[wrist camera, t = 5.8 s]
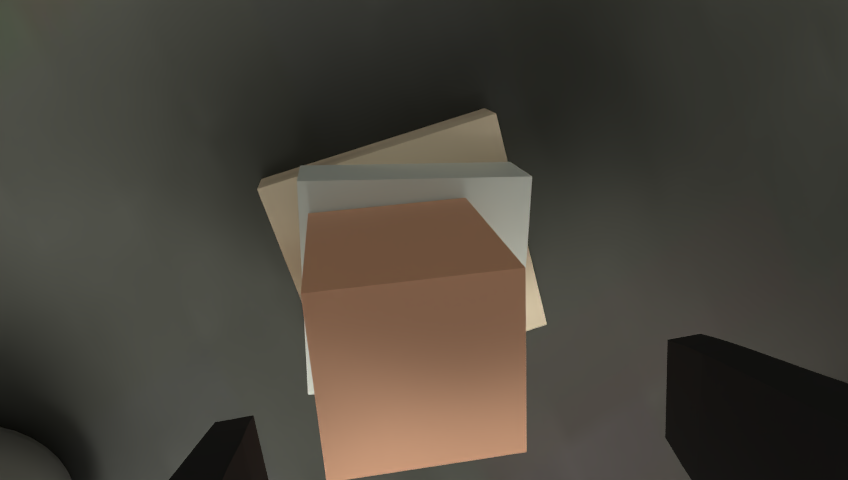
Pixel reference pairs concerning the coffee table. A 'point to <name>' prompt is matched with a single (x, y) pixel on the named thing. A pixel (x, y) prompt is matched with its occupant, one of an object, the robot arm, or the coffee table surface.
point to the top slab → (420, 196)
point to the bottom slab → (432, 144)
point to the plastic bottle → (28, 459)
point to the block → (413, 337)
